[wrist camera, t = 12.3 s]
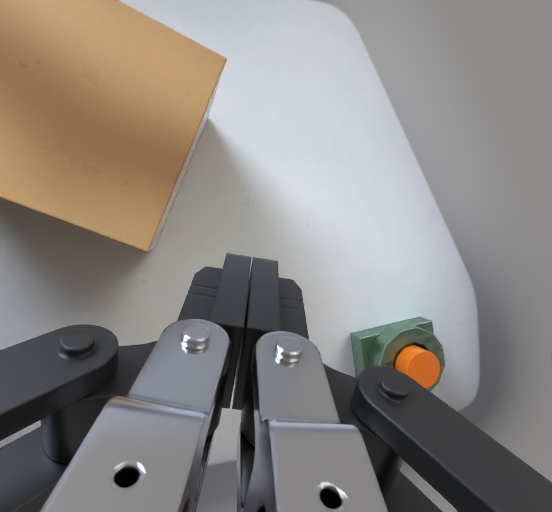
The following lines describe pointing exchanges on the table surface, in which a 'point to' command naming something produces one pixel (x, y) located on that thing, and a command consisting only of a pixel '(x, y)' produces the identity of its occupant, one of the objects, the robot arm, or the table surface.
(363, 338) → the button box
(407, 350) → the button
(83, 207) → the lid
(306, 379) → the robot arm
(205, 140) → the table surface
